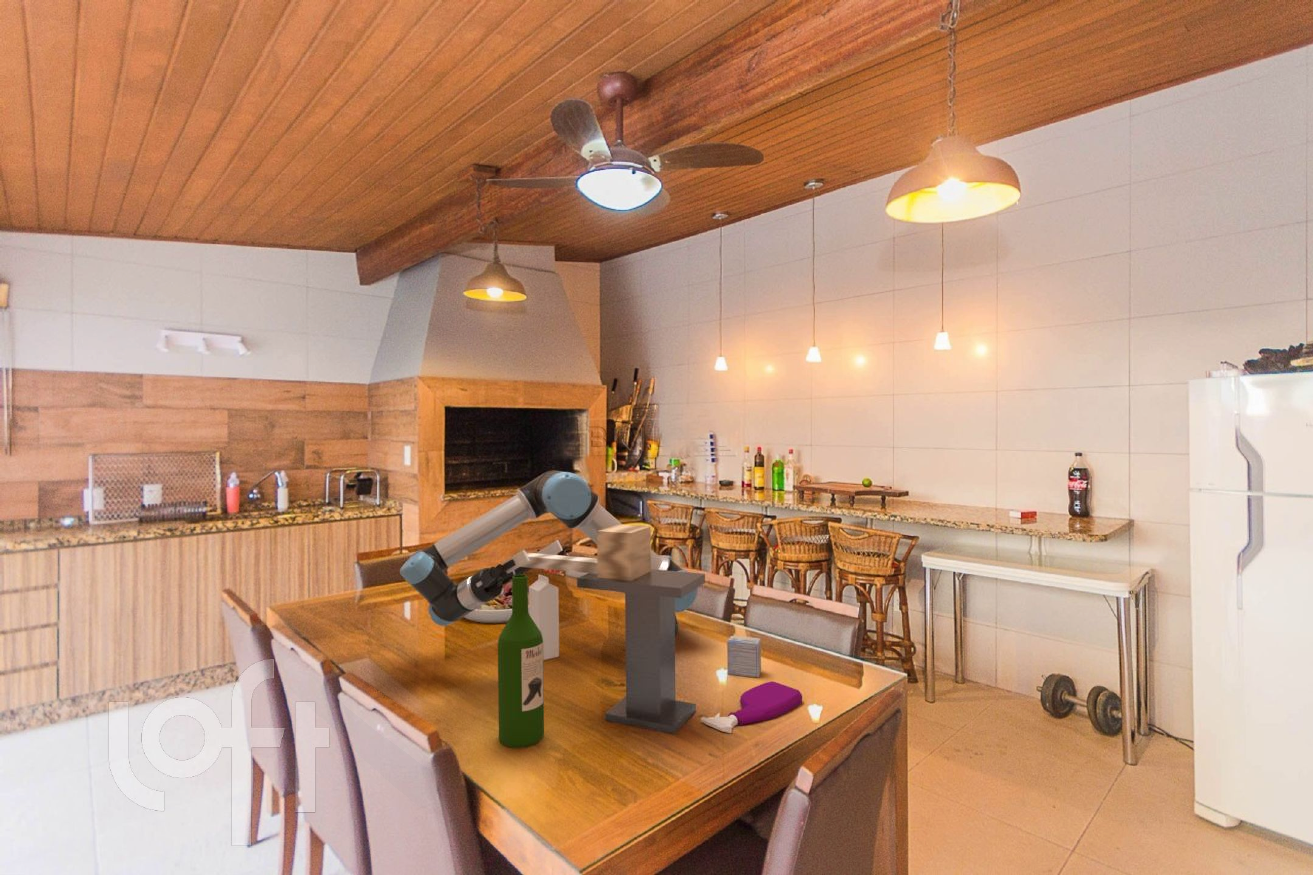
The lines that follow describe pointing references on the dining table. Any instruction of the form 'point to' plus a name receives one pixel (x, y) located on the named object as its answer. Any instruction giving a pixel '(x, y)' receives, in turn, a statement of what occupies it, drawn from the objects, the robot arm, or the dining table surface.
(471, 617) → the bowl
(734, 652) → the medicine box
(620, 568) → the wooden l-shaped block
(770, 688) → the spray bottle
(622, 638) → the dining table surface
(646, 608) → the stand
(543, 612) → the milk
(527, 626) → the wine bottle
